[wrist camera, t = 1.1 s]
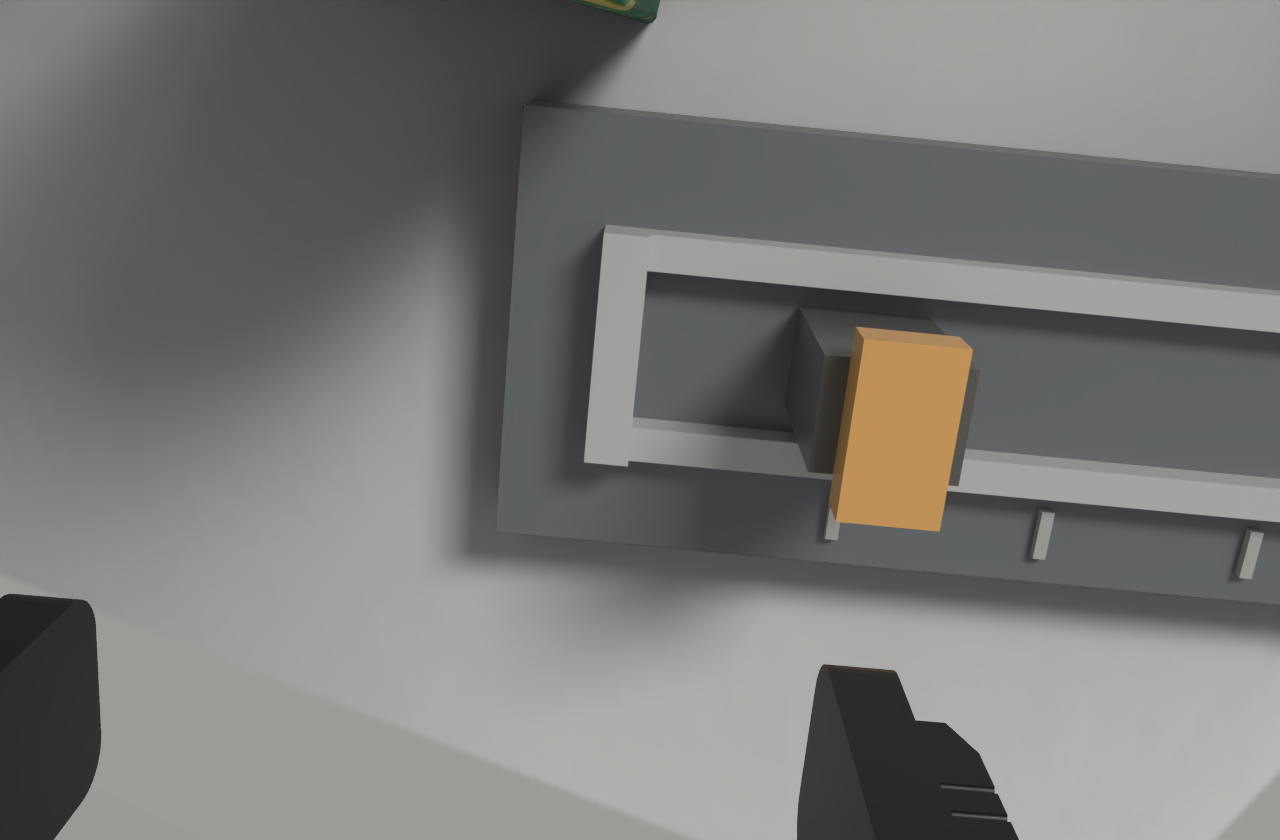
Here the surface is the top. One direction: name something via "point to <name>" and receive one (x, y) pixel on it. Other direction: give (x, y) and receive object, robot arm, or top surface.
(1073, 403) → the console board
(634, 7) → the coffee box
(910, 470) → the fader tab
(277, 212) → the top surface
